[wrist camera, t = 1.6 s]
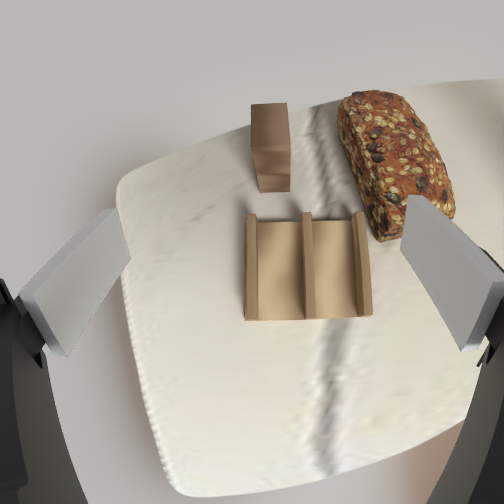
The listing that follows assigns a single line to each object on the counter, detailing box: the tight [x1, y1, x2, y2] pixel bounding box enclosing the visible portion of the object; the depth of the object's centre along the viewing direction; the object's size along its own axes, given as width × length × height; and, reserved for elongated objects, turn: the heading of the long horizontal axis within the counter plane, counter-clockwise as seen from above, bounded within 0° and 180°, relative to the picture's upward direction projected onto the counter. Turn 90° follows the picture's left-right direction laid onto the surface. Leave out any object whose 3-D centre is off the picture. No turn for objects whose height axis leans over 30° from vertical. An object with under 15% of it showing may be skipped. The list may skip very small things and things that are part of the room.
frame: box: [251, 103, 291, 193], centre depth 36 cm, size 4×6×11 cm
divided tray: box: [245, 211, 373, 321], centre depth 35 cm, size 15×12×4 cm
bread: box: [337, 90, 455, 243], centre depth 34 cm, size 19×11×10 cm, turn 10°
